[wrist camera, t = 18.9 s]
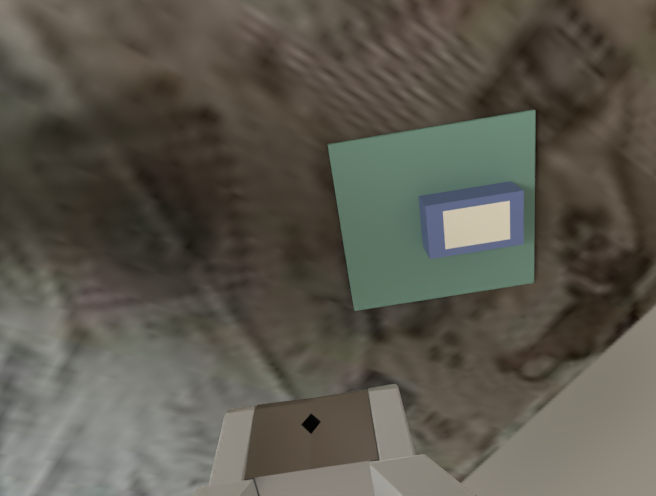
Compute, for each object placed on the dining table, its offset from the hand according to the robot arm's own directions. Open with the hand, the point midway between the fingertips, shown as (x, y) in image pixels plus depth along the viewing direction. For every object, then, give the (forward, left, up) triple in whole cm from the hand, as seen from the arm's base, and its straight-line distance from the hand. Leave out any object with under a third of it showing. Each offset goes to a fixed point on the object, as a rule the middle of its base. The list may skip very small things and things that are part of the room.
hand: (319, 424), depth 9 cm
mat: (+8, -8, -29) cm, 31 cm away
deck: (+7, -8, -28) cm, 30 cm away
